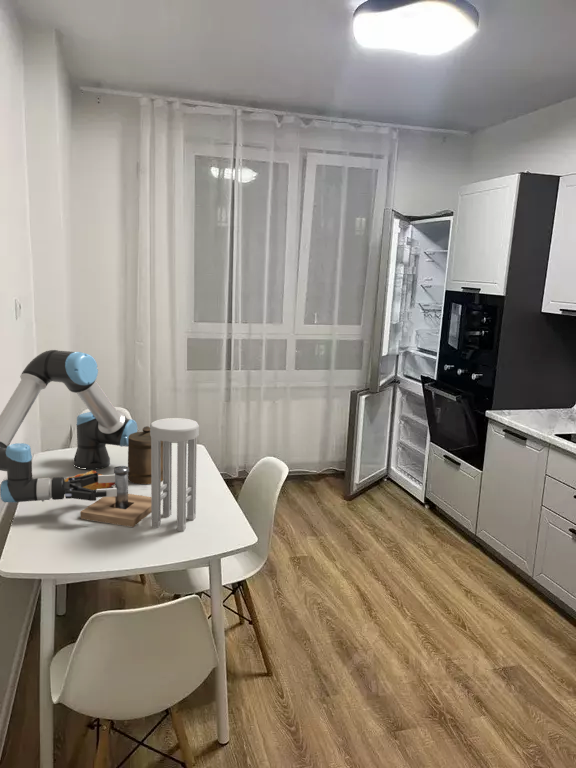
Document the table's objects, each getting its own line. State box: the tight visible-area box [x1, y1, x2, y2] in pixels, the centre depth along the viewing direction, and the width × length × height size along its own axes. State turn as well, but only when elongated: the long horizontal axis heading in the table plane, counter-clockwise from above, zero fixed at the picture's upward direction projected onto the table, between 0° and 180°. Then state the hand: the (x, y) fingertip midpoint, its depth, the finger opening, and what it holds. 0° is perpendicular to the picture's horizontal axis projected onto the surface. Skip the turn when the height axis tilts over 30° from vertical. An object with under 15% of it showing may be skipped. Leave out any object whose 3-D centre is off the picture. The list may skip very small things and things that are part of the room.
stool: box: [149, 417, 200, 532], centre depth 193 cm, size 16×16×35 cm
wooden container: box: [127, 425, 163, 485], centre depth 234 cm, size 15×15×22 cm
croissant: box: [64, 470, 115, 491], centre depth 224 cm, size 21×10×8 cm, turn 93°
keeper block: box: [79, 493, 151, 528], centre depth 203 cm, size 20×20×2 cm
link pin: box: [113, 465, 129, 509], centre depth 201 cm, size 5×5×16 cm
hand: (117, 484), depth 200 cm, fingers open, 13 cm apart
